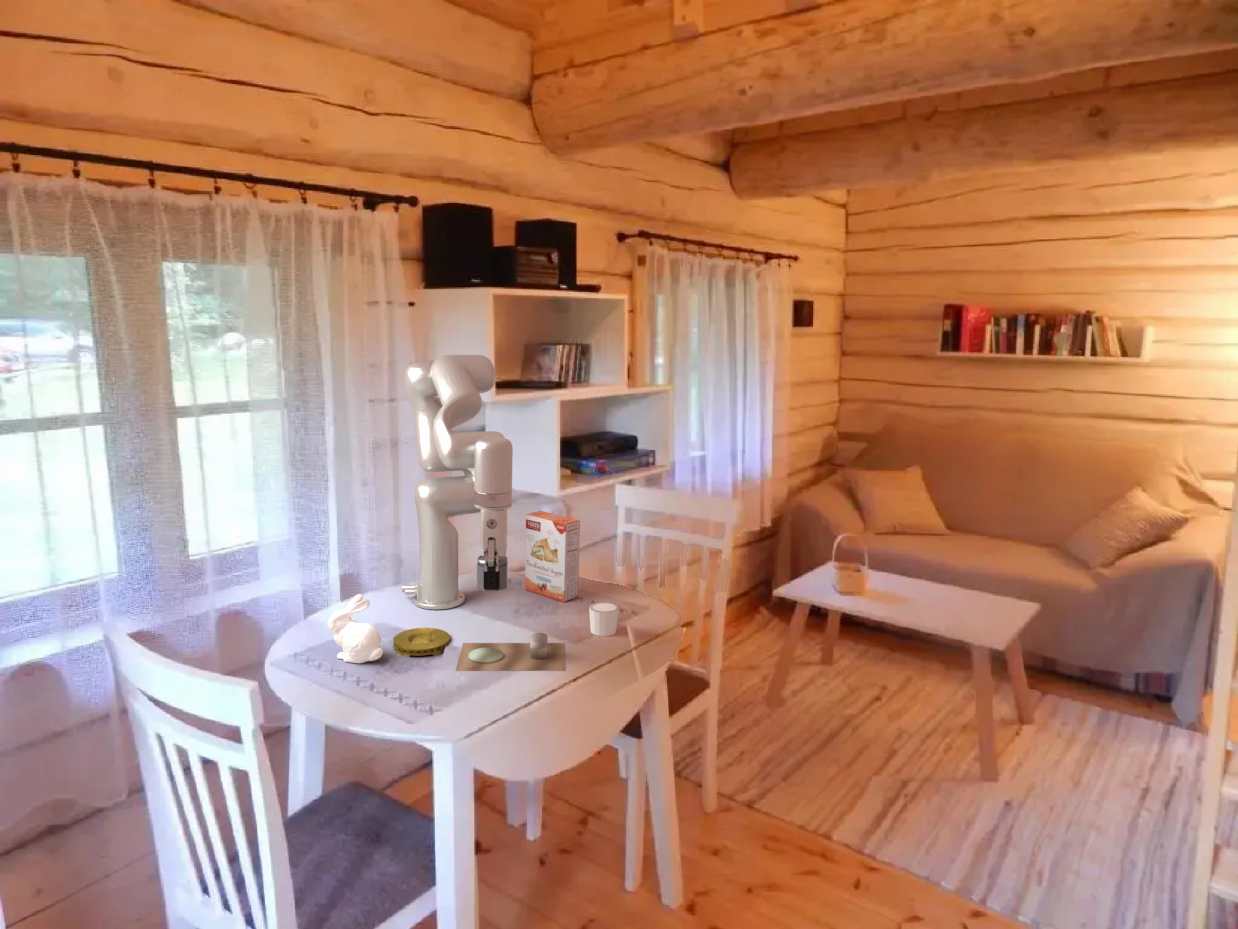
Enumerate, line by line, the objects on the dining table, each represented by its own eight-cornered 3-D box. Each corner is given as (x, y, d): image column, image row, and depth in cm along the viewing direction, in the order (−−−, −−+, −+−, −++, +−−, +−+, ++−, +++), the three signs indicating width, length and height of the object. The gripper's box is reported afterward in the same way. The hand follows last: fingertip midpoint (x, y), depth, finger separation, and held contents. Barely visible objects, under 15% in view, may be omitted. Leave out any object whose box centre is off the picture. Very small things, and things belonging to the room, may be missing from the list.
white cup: (601, 628, 193) (602, 599, 192) (624, 635, 189) (625, 606, 188) (582, 636, 188) (582, 607, 187) (605, 644, 184) (605, 614, 182)
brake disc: (392, 660, 172) (392, 650, 172) (394, 638, 184) (394, 629, 183) (450, 657, 175) (450, 647, 175) (449, 635, 187) (449, 626, 186)
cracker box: (523, 590, 217) (524, 513, 213) (539, 585, 221) (540, 509, 218) (563, 603, 208) (565, 523, 205) (579, 597, 213) (581, 519, 209)
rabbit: (323, 658, 172) (321, 603, 170) (355, 642, 180) (353, 590, 178) (369, 670, 167) (368, 614, 165) (399, 653, 175) (398, 599, 173)
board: (455, 676, 165) (455, 649, 164) (463, 648, 179) (463, 623, 178) (565, 676, 167) (565, 649, 166) (564, 648, 181) (564, 623, 180)
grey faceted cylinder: (505, 591, 167) (506, 562, 166) (476, 590, 167) (476, 561, 166) (508, 581, 173) (508, 553, 172) (479, 580, 173) (479, 552, 171)
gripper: (510, 509, 158) (509, 598, 162) (513, 489, 175) (512, 570, 179) (471, 509, 158) (470, 598, 161) (477, 489, 174) (477, 570, 178)
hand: (492, 582), depth 170 cm, fingers closed on grey faceted cylinder, 6 cm apart
